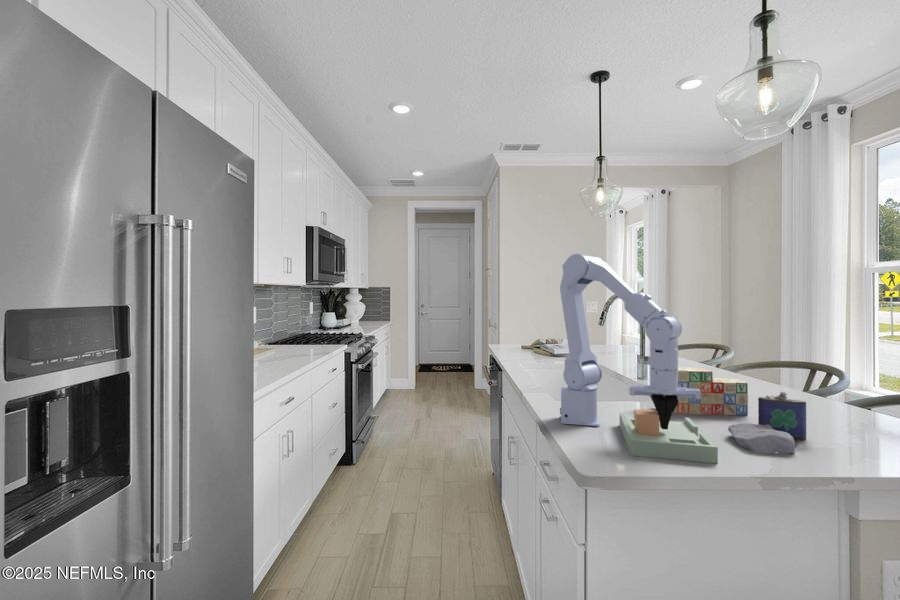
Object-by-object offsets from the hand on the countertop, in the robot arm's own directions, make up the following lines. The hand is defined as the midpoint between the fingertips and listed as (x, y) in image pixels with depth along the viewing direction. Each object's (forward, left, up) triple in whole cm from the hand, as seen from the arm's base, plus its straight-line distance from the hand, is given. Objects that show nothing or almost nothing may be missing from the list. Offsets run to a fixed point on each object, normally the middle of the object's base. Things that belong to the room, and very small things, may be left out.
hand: (663, 428), depth 96 cm
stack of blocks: (+16, +31, -3) cm, 35 cm away
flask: (+27, +11, -3) cm, 30 cm away
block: (-4, -1, -1) cm, 4 cm away
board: (0, 0, -3) cm, 3 cm away
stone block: (+20, +4, -4) cm, 20 cm away
